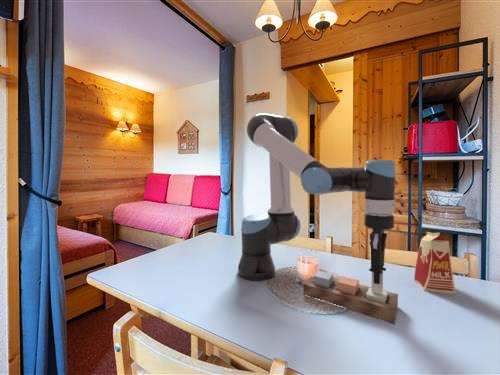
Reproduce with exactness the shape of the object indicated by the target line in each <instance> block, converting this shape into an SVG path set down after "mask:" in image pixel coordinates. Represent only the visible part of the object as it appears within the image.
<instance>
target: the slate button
mask: <svg viewBox="0 0 500 375" xmlns="http://www.w3.org/2000/svg"><path fill="white" fill-rule="evenodd" d="M315 273H316V274H315V275H314V281H313V284H316V285H320V286H323V287H327V288H330V287H331V286H332V284H333V278H334V274H333V273H331V272H326V271H323V270H318V271H317V272H315Z"/></svg>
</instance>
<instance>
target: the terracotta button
mask: <svg viewBox="0 0 500 375" xmlns="http://www.w3.org/2000/svg"><path fill="white" fill-rule="evenodd" d="M359 284H360V280H359V279H356V278H351V277H346V276H344V275H343V276H341V277H340V280H339V282H338V291H341V292H345V293H349V294H352V295H356V296H357V294H358V292H359Z"/></svg>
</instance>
